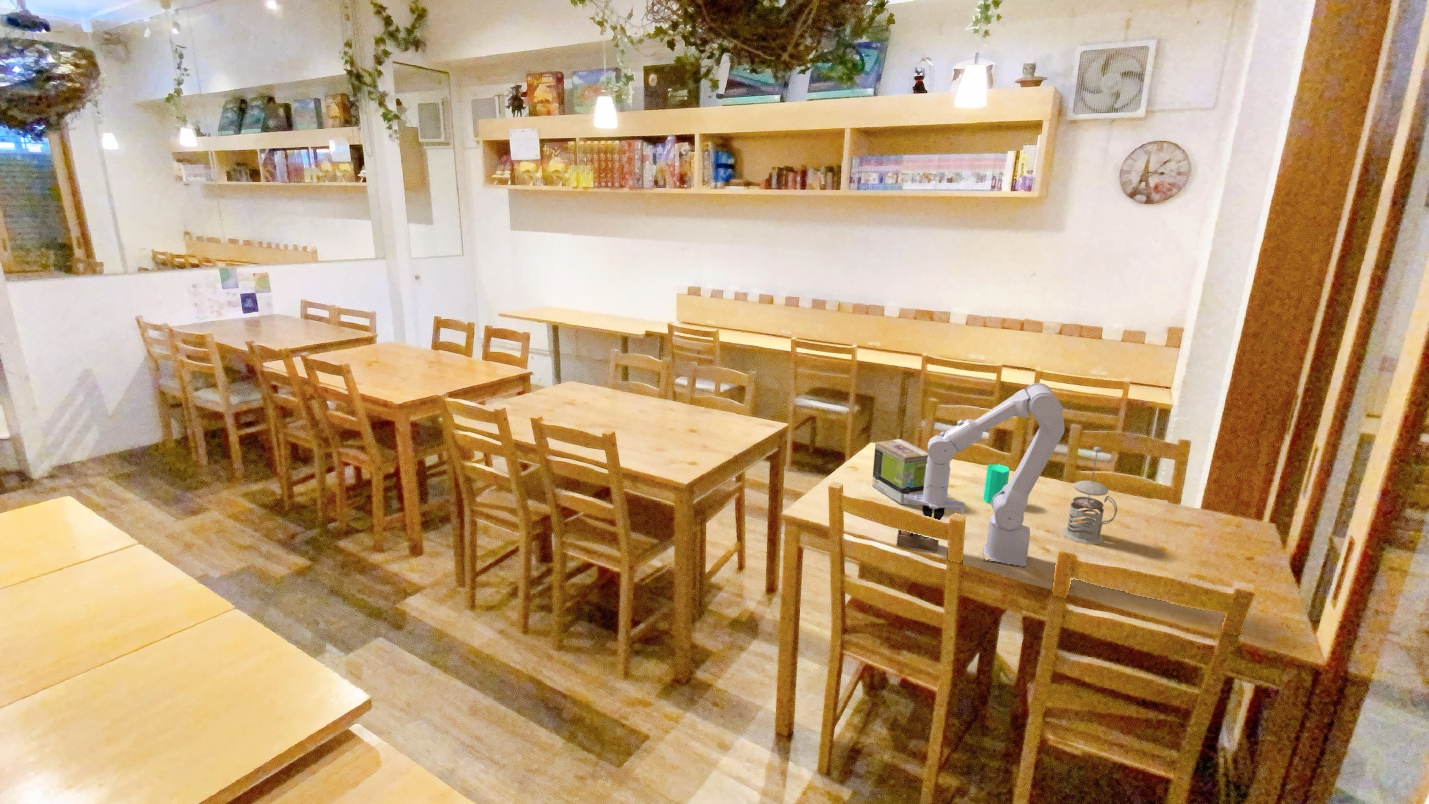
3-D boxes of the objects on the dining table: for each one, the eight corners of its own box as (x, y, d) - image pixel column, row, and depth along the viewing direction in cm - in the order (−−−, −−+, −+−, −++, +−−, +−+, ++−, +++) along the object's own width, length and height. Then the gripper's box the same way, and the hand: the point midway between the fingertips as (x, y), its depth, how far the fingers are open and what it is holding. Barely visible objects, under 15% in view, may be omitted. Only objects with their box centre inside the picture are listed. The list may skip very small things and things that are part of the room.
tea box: (928, 500, 204) (933, 453, 199) (900, 505, 200) (904, 457, 196) (897, 481, 217) (901, 437, 213) (870, 486, 213) (874, 441, 209)
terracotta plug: (913, 535, 179) (914, 522, 178) (912, 541, 176) (913, 529, 175) (899, 533, 180) (900, 520, 179) (898, 539, 177) (899, 526, 176)
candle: (981, 502, 203) (986, 464, 199) (984, 494, 208) (989, 457, 204) (1003, 506, 200) (1009, 468, 197) (1005, 498, 205) (1011, 461, 202)
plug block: (937, 544, 178) (939, 533, 177) (937, 552, 174) (938, 541, 173) (897, 538, 181) (898, 527, 180) (896, 545, 177) (897, 535, 176)
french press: (1066, 523, 190) (1081, 437, 183) (1114, 536, 183) (1131, 448, 176) (1057, 536, 183) (1072, 447, 175) (1106, 550, 175) (1124, 458, 168)
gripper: (905, 485, 170) (900, 535, 174) (967, 493, 166) (961, 544, 169) (906, 475, 176) (902, 523, 180) (967, 482, 172) (960, 532, 176)
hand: (930, 532), depth 175 cm, fingers closed, pressing on grey plug
